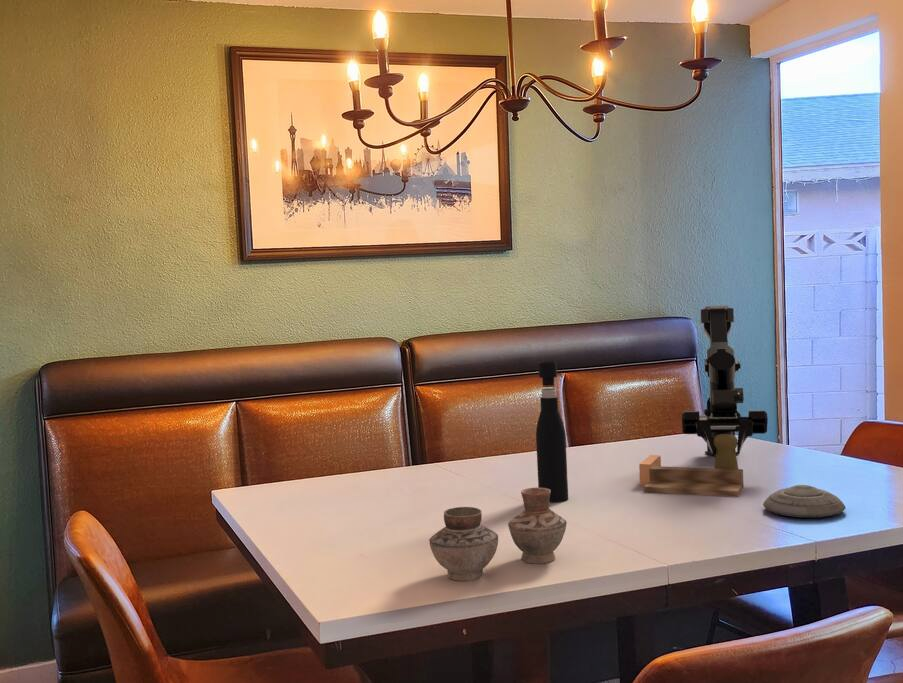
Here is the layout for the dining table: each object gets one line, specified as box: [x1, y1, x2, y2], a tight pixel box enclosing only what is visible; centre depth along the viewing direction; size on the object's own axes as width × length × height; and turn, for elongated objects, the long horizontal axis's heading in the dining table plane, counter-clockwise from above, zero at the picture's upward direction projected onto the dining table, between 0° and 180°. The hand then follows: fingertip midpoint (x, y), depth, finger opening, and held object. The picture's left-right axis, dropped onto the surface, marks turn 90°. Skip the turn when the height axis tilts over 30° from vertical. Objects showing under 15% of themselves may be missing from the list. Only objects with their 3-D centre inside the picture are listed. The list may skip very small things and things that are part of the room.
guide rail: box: [638, 454, 745, 498], centre depth 204 cm, size 22×17×5 cm
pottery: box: [428, 487, 568, 582], centre depth 151 cm, size 11×25×12 cm, turn 120°
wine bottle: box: [535, 360, 569, 504], centre depth 197 cm, size 6×6×30 cm
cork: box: [713, 434, 739, 469], centre depth 205 cm, size 6×6×11 cm
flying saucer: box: [762, 484, 846, 519], centre depth 177 cm, size 15×15×6 cm
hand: (725, 452), depth 203 cm, fingers closed on cork, 5 cm apart
